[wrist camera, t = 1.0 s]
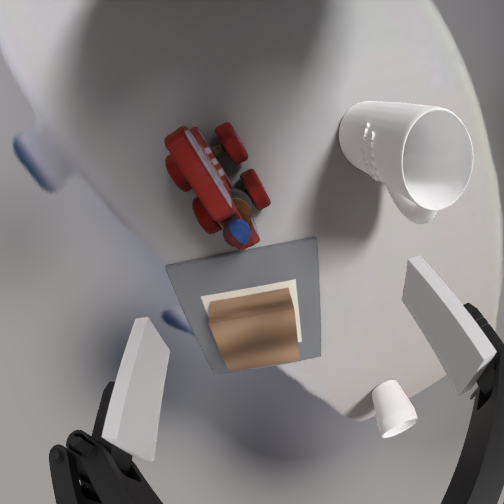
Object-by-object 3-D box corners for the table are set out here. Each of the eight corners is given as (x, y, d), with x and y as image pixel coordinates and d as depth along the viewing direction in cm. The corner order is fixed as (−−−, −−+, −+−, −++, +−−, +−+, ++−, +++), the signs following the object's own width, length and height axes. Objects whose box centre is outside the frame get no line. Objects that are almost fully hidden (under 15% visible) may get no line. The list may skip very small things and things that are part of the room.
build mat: (166, 265, 32) (165, 268, 31) (315, 236, 31) (316, 239, 31) (214, 371, 43) (214, 374, 42) (320, 353, 42) (321, 356, 42)
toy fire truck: (220, 237, 31) (216, 296, 22) (162, 141, 25) (124, 162, 16) (277, 210, 29) (296, 261, 20) (223, 107, 24) (216, 106, 15)
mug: (357, 211, 30) (411, 267, 19) (325, 113, 24) (384, 121, 14) (412, 188, 29) (476, 231, 18) (388, 93, 23) (464, 99, 12)
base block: (210, 301, 34) (208, 323, 31) (288, 287, 34) (294, 308, 30) (228, 350, 39) (229, 371, 36) (294, 338, 39) (299, 359, 35)
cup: (397, 389, 54) (413, 427, 44) (365, 401, 55) (378, 441, 44) (404, 371, 50) (423, 413, 39) (368, 384, 50) (384, 429, 40)
